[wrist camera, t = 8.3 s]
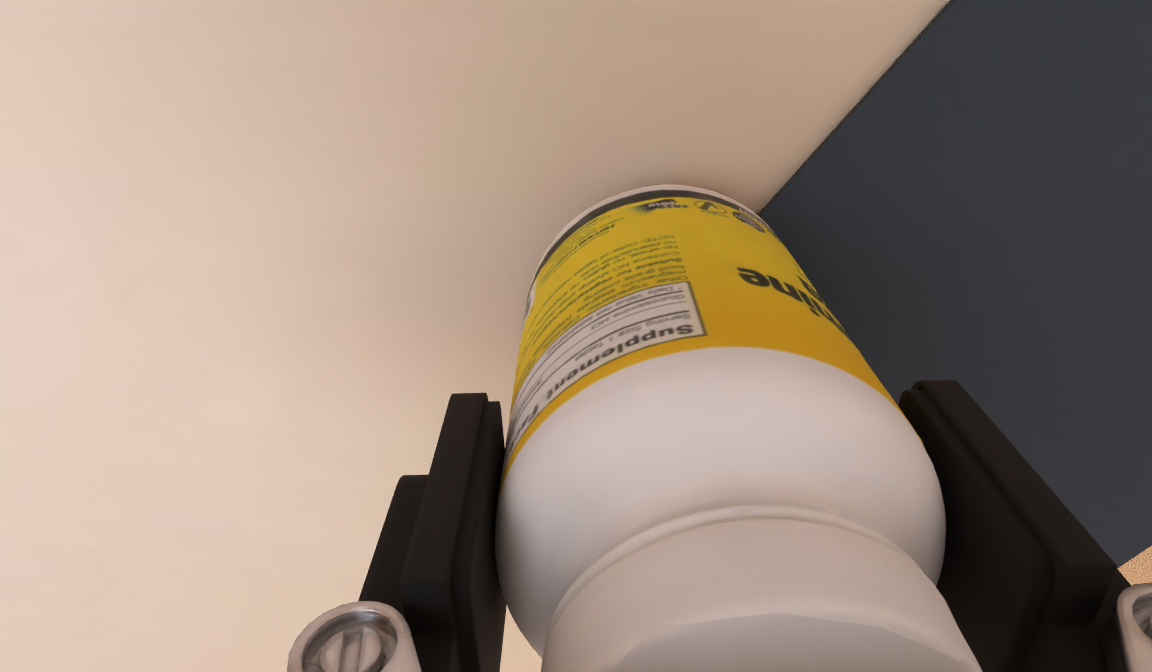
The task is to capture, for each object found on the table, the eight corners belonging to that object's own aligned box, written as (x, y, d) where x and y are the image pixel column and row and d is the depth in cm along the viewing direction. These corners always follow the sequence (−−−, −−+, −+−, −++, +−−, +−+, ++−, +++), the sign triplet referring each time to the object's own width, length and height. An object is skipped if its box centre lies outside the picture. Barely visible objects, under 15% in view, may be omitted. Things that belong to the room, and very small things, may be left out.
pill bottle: (834, 343, 18) (1153, 835, 8) (611, 452, 19) (649, 976, 9) (719, 118, 15) (979, 433, 5) (474, 263, 17) (332, 712, 7)
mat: (1240, -325, 13) (1250, -328, 12) (1623, 217, 17) (1634, 220, 17) (644, 340, 19) (645, 344, 18) (1042, 611, 23) (1045, 616, 23)
